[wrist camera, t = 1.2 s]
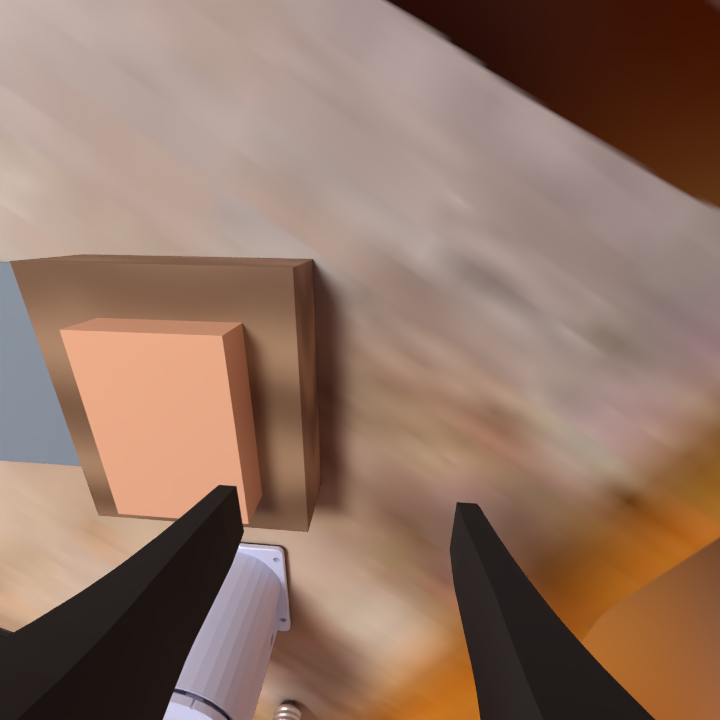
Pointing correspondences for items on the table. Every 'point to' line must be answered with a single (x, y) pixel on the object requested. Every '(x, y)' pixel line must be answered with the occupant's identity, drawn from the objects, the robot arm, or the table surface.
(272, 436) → the board
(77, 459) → the mat
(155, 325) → the block
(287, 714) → the lightbulb
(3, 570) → the table surface
